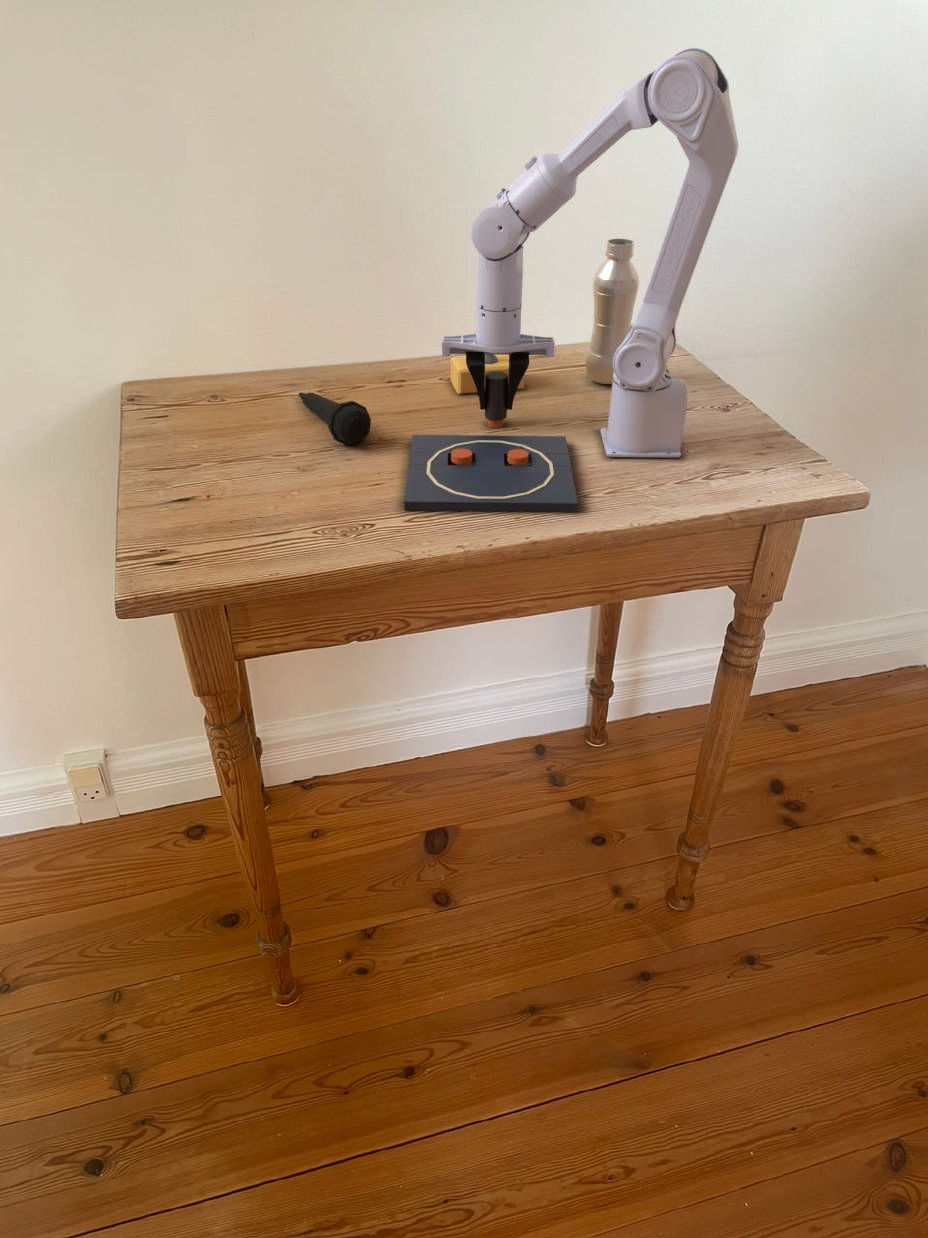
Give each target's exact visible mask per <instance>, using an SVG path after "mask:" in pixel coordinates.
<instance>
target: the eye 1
mask: <svg viewBox="0 0 928 1238" xmlns="http://www.w3.org/2000/svg"><path fill="white" fill-rule="evenodd" d="M450 462H452V464H455V465H457V466H467V465H469V464H471V463H472V452H471V451H470V450H468V449H456V450H453V451H452V452H451V461H450Z"/></svg>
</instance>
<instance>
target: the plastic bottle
mask: <svg viewBox="0 0 928 1238" xmlns="http://www.w3.org/2000/svg"><path fill="white" fill-rule="evenodd" d="M634 248H635V241H634V240H632V239H628V238H610V239H608V240H607V241H606V248H605V251H604V256H605V257H606V259H605V260H604V261H603V262H602V264H600V265H599V267H598V268H597V269H596V271H595V273H594V275H593V278H592V297H593V320H592V323H593V324H592V332H591V339H590V344H589V348H588V351H587V355H586V360H585V371H586V374H587V376H588V378H589V379H590V380H591V381H592V382H595V383H598V384H603V385H612V381H613V373H614V369H613V357H614V354H615V352H616V350H617V348H618V347H619V346H620V345H621V344H622V343H623V341H624V339H625V337H626V335H627V333H628V330H629V328H630V327H631V325H632V319H633V314H634V308H635V305H636V300H637V297H638V292H639V288H640V284H641V283H640V277H639V273H638V270H637V268H636V267H635V265H634V264H633V261H632V258H633V257H634V253H635V252H634Z"/></svg>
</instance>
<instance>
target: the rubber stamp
mask: <svg viewBox="0 0 928 1238" xmlns="http://www.w3.org/2000/svg"><path fill="white" fill-rule="evenodd" d="M493 371H499V372H504V373H506V374H507V375H508V378H509V355H492V354H485V375H486V374H487V373H489V372H493ZM525 374H526V373H525ZM525 374H524V376H523V377H522V379H521V381H520V383H519V386H518V388H517V390H524V389H525V377H526V376H525ZM450 383H451V384H452V386H453V388H454V390H455V391H456V394H457V395H468V394H478V392H477V389H476V386H475V383H474V380H473V378H472V376H471V374H470V372H469V370H468V367H467V365H466V355H458V356H453V357H451V358H450Z"/></svg>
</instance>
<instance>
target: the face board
mask: <svg viewBox="0 0 928 1238" xmlns="http://www.w3.org/2000/svg"><path fill="white" fill-rule="evenodd" d="M568 447H569V446H568V443H567V437H566V436H565V435H489V434H488V435H481V434H479V435H478V434H477V435H476V434H475V435H470V434H469V435H467V434H412V437H411V444H410V453H409V458H408V468H407V476H406V484H405V491H404V492H405V493H404V501H403V505H404V506H403V509H404V511H414V512H415V511H419V512H420V511H421V512H422V511H423V512H425V511H426V512H431V511H432V512H513V513H514V512H520V513H521V512H522V513H523V512H524V513H526V512H527V513H529V512H530V513H541V512H542V513H578V509H579V502H578V501H579V500H578V495H577V490H576V484H575V480H574V479H575V478H574V474H573V468H572V463H571V459H570V452H569V448H568ZM456 449H468V450H470V451H471V452H472V462H474V465H457V464H455V465H453V464H452V465H449V462H452V461H451V452H452V451H453V450H456ZM514 449H522V450H525V451H527V452H528V453H529V458H528V463H530V465H505V463H508V461H507V459H508V452H509V451H510V450H514ZM472 462H471V463H472Z"/></svg>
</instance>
